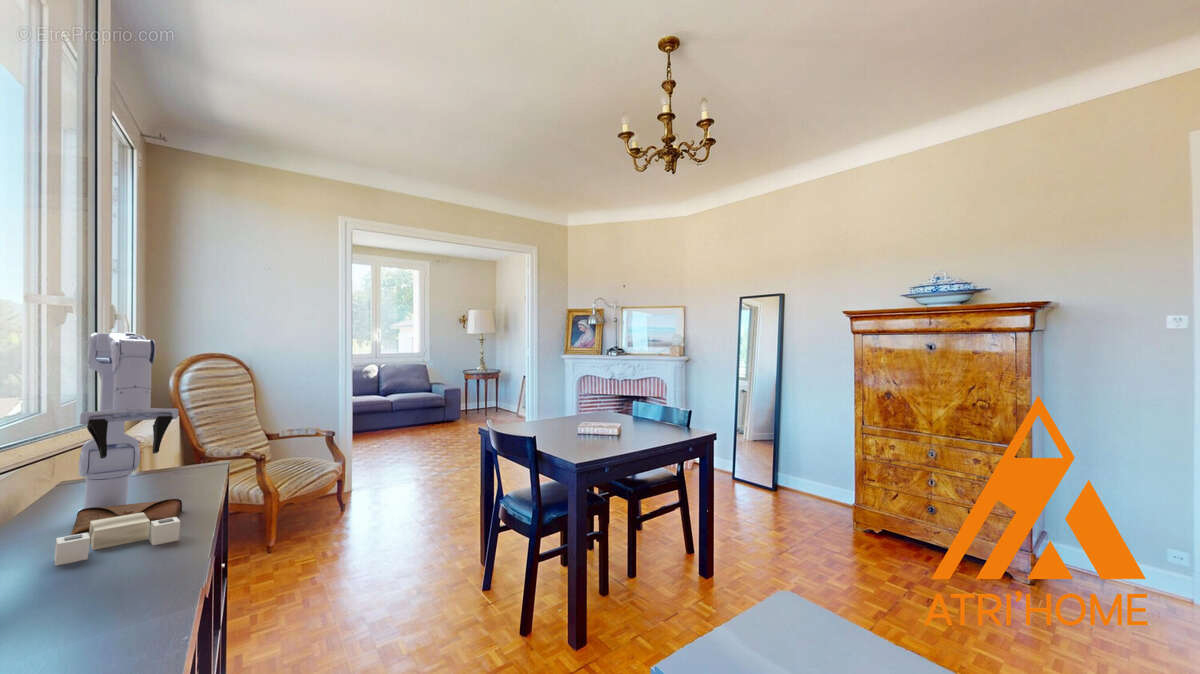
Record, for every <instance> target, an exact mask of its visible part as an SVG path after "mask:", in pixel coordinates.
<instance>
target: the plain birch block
mask: <svg viewBox="0 0 1200 674" xmlns="http://www.w3.org/2000/svg"><path fill="white" fill-rule="evenodd" d="M150 527H151V524H150V520H149V519H148V518H147V516H146V515H145V514H144V512H143V513H136V514H130V515H124V516H118V517H112V518H106V519H100V520H94V521H90V530H89V532H88V534H89V537H90V543H89V545H90V546H91V549H92V551H94V550H100V549H104V548H105V549H106V548H109V547H114V546H119V545H126V544H130V543H135V542H140V541H145V540H149V538H150Z"/></svg>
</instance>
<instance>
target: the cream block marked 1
mask: <svg viewBox="0 0 1200 674" xmlns="http://www.w3.org/2000/svg"><path fill="white" fill-rule="evenodd" d="M55 539H56V540H55V550H54V558H53V560H54V564H55V567H56V566H57V567H58V566H61V565H66V564H71V563H75V562H81V561H86V560H88V559H89V551H90V537H89V532H86V533H80V534H73V535H67V536H62V537H60V536H59V537H56V538H55Z"/></svg>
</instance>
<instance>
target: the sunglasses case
mask: <svg viewBox="0 0 1200 674" xmlns="http://www.w3.org/2000/svg"><path fill="white" fill-rule="evenodd" d="M81 509H82V510H80V511H79V512H78V511H77V514H76V518H75V521H74V525H73V528H72V529H71V532H70V533H69V536H71V535H77V534H82V533H89V530H90V521H94V520H100V519H106V518H112V517H118V516H124V515H130V514H136V513H143V512H144V514H145V515H146V516H147V518H148V519H149V520H150V525H151V521H156V520H161V519H167V518H172V517H177V518H178V519H179V517H180V514H181V512H183V502H182V500H181V499H179V498H168V499H163V500H159V501H158V500H157V501H149V502H137V503H127V505H119V506H111V507H91V508H85V509H83V508H81Z"/></svg>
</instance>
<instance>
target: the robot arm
mask: <svg viewBox="0 0 1200 674" xmlns="http://www.w3.org/2000/svg"><path fill="white" fill-rule="evenodd" d="M156 347H157V345H156V342H155V340H154V339H147V338H146V337H145V336H144V334H136V332H127V331H126V332H125V333H115V332H93V333H91V334H90V335H89V340H88V347H87V351H88V352H87V364H88V368H89V369H90V370H93V371H95V372H98V375H99V378H100V399H99V401H100V402H99V404H100V405H99V410H98V411H84V412H81V413H80V414H79V415H80V416H79V425H86V428H87V431H88V432H89V434H90V436H91V437H92V438H91V439H89V440H87V441H86V442H84V444H83V445H82V446H81V449H80V454H79V455H80V456H79V460H78V475H79V476H80V477H82V478H86V480H85V491H84V500H83V501H84V502H83V508H79V509H77V510H78V511H77V513H78V512H79V511H80V510H82V509H85V508H91V507H111V506H119V505H127V504H128V496H129V486H130V485H129V483H130V476H131V475H132V474H133V472H136V471H137V470H138V468H139V466H140V462H141V461H140V460H141V451H140V450H141V449H140V442H139V440H138V439H137V438H136V437H133V436H131V435H129V434H127V433H126V432H125V426H126V425H125V424H126V422H133V421H148V420H149V421H151V420H152V421H153V420H154V424H153V425H152V431H153V434H152V435H153V442H152V454H154V455H155V454H158V453H159V452H160V446H161V443H162V440H163V437H164V435H165V433H166V431H167V429H168V427H169V426H170V424H171V422H172V421H173V420H177V419H178V418H179V408H162V407H161V408H159V407H158V408H155V407H151V404H152V403H151V402H152V401H151V399H152V396H151V395H152V365H153V364H154V361H155V358H156V354H157V353H156V352H157V348H156Z"/></svg>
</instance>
